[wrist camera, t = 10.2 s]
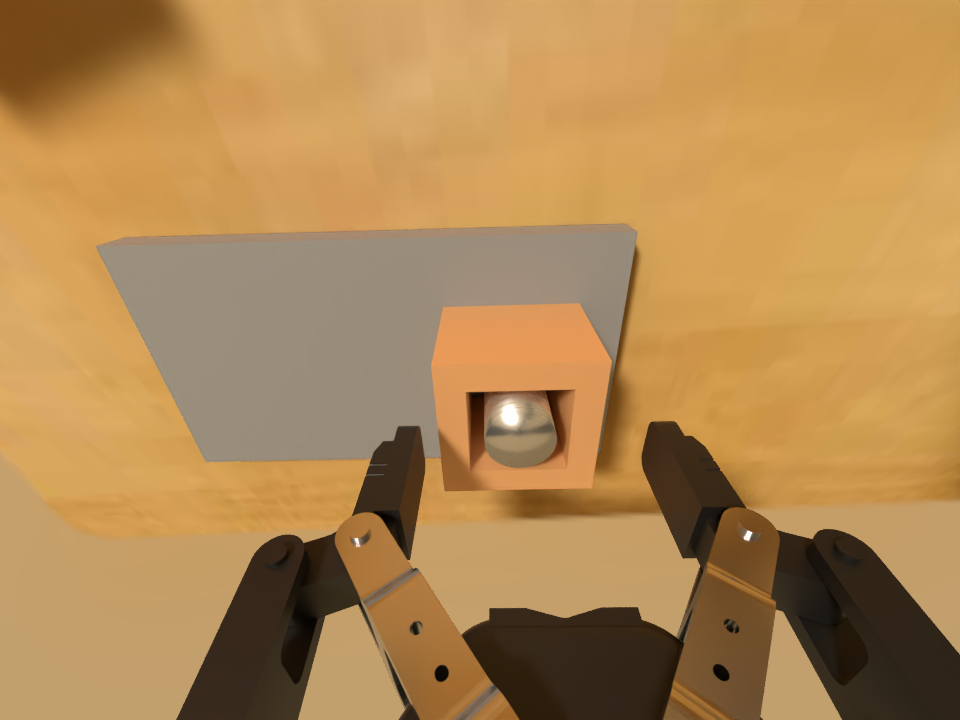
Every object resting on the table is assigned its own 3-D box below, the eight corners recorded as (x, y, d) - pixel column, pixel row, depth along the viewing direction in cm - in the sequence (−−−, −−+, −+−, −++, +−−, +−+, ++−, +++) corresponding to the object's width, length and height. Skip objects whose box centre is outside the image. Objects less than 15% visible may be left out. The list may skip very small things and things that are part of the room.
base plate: (124, 237, 18) (95, 246, 16) (625, 223, 17) (637, 231, 16) (220, 443, 24) (205, 461, 22) (593, 436, 23) (600, 454, 22)
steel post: (482, 325, 20) (483, 413, 14) (535, 324, 20) (559, 412, 14) (483, 370, 21) (485, 468, 15) (533, 369, 21) (554, 467, 15)
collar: (443, 307, 18) (431, 365, 13) (579, 303, 18) (612, 361, 13) (452, 414, 21) (444, 490, 16) (568, 412, 21) (591, 487, 16)
